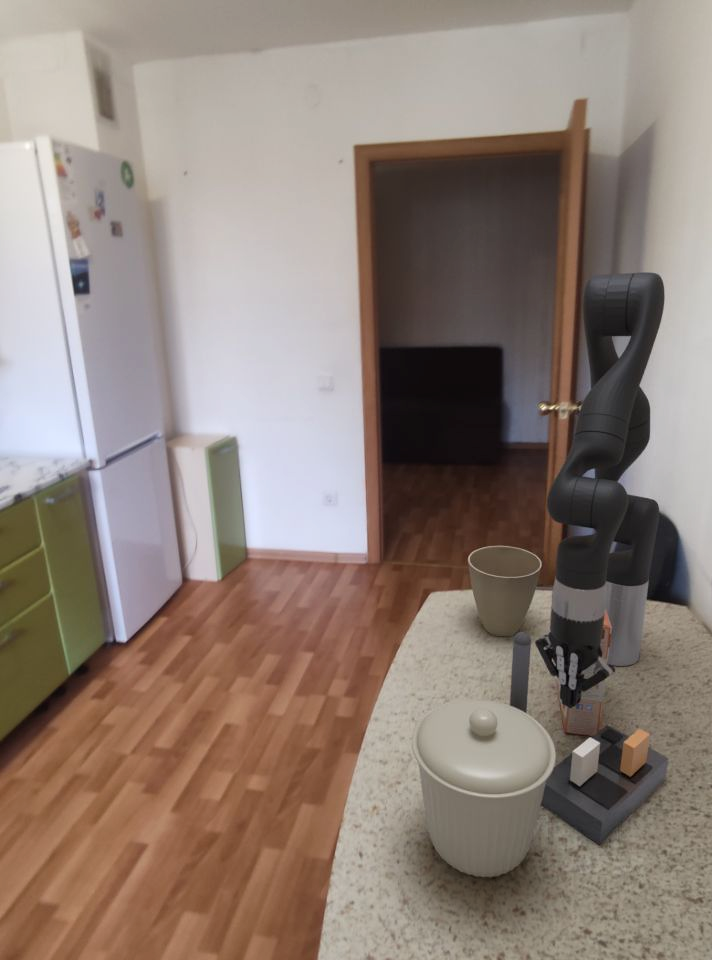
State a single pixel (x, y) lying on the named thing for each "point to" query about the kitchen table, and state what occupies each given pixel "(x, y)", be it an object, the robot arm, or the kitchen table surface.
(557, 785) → the panel
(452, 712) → the canister
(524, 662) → the stand
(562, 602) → the robot arm
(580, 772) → the white rectangular block
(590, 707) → the cracker box
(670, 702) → the kitchen table surface
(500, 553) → the plant pot
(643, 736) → the block
